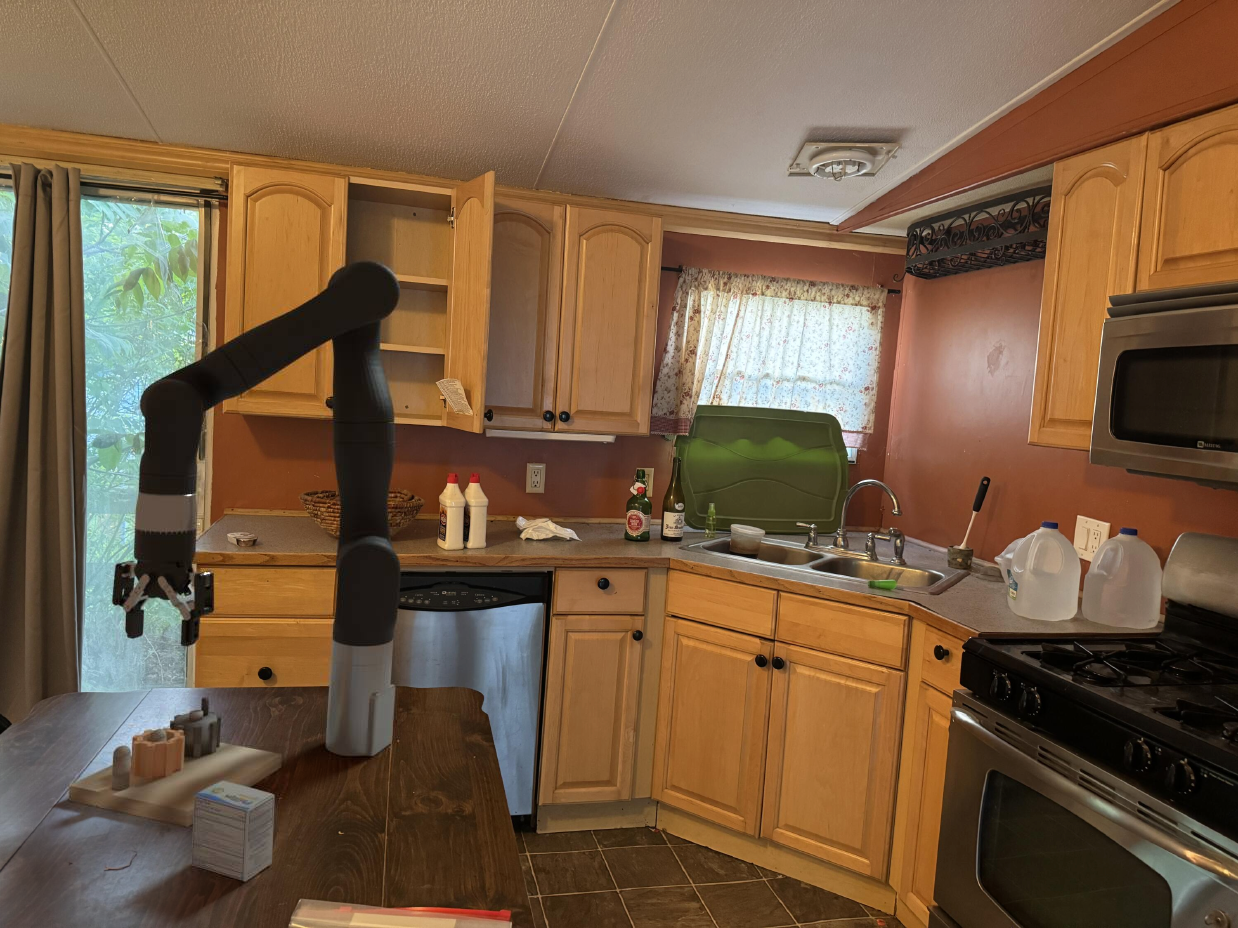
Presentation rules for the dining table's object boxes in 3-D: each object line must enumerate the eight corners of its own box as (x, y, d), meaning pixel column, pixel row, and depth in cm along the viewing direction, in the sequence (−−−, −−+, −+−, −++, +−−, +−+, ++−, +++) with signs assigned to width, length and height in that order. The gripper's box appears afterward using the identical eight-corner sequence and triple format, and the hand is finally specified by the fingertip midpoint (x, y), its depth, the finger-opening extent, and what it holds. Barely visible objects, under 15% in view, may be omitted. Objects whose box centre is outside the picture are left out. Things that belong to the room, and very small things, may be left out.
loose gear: (193, 763, 119) (194, 732, 119) (159, 781, 113) (161, 748, 113) (155, 755, 121) (156, 725, 120) (119, 773, 115) (121, 740, 114)
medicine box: (272, 865, 100) (277, 793, 99) (244, 884, 95) (248, 808, 95) (219, 848, 102) (223, 778, 101) (189, 866, 98) (193, 793, 97)
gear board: (281, 767, 125) (284, 707, 124) (187, 826, 106) (191, 756, 106) (175, 746, 129) (178, 688, 128) (68, 800, 110) (71, 732, 110)
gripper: (230, 527, 119) (224, 640, 120) (142, 516, 122) (137, 628, 123) (192, 533, 112) (187, 655, 113) (100, 522, 115) (95, 641, 116)
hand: (161, 640), depth 118 cm, fingers open, 8 cm apart
